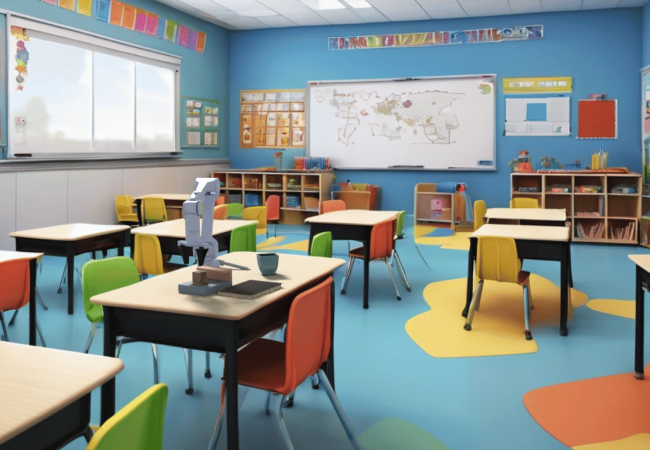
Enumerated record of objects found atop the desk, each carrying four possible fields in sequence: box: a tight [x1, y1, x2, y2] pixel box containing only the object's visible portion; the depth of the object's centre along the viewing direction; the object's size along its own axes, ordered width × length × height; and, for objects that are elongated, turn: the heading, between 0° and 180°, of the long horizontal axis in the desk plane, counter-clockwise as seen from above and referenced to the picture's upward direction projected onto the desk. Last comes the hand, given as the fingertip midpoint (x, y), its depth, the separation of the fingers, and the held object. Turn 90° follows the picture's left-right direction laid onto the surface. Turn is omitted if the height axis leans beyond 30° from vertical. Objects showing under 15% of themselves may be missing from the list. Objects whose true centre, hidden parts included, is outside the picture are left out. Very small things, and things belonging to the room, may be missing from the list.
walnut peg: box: [191, 270, 207, 286], centre depth 236 cm, size 4×4×8 cm
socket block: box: [177, 278, 233, 297], centre depth 239 cm, size 16×14×3 cm
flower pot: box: [256, 252, 280, 276], centre depth 271 cm, size 9×9×9 cm
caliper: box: [216, 258, 251, 271], centre depth 284 cm, size 20×1×6 cm, turn 76°
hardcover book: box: [216, 279, 283, 300], centre depth 238 cm, size 16×23×2 cm
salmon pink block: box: [195, 265, 233, 282], centre depth 243 cm, size 6×14×5 cm, turn 59°
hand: (193, 265), depth 239 cm, fingers open, 7 cm apart
